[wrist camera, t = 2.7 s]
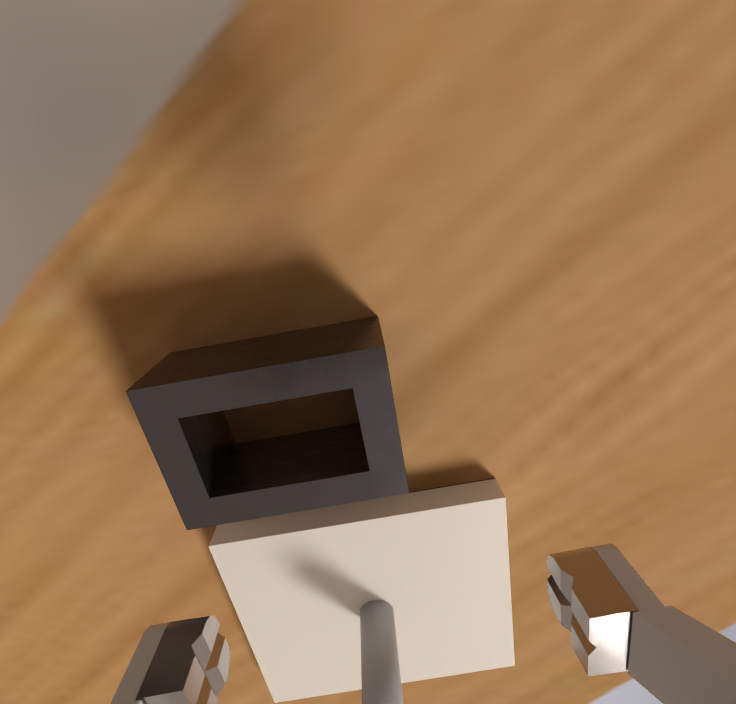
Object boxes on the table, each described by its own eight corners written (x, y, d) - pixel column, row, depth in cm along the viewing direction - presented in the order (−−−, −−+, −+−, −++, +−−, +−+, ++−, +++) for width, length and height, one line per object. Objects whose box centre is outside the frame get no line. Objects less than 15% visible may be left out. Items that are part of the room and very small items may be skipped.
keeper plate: (495, 478, 22) (549, 583, 16) (506, 641, 27) (550, 767, 21) (217, 524, 23) (168, 643, 17) (278, 677, 28) (258, 810, 22)
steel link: (378, 316, 19) (384, 346, 15) (398, 441, 21) (409, 493, 18) (169, 353, 19) (125, 391, 15) (215, 472, 21) (187, 530, 18)
